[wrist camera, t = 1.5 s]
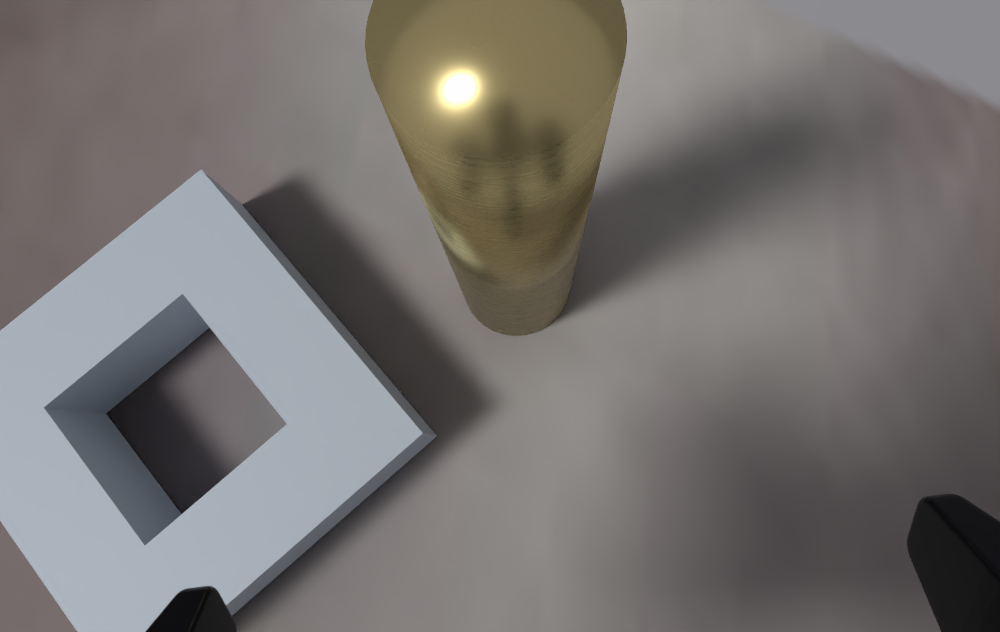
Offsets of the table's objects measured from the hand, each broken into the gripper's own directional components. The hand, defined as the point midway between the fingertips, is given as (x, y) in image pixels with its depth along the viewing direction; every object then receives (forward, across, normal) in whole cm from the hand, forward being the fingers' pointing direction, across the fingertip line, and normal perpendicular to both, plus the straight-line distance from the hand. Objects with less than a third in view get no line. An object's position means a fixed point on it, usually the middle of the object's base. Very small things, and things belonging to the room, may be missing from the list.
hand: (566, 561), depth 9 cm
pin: (+14, 0, +4) cm, 14 cm away
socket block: (+12, +10, +6) cm, 17 cm away
